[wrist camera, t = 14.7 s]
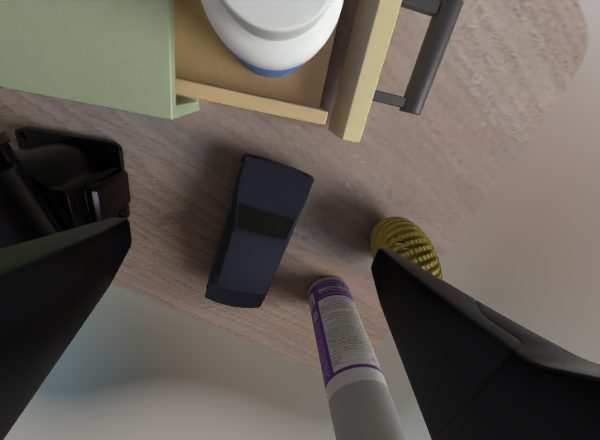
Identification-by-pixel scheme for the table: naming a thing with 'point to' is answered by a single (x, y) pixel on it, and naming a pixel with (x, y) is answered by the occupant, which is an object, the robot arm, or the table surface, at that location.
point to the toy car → (256, 230)
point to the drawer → (312, 66)
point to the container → (350, 367)
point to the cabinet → (94, 53)
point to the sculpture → (405, 243)
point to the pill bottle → (273, 31)
